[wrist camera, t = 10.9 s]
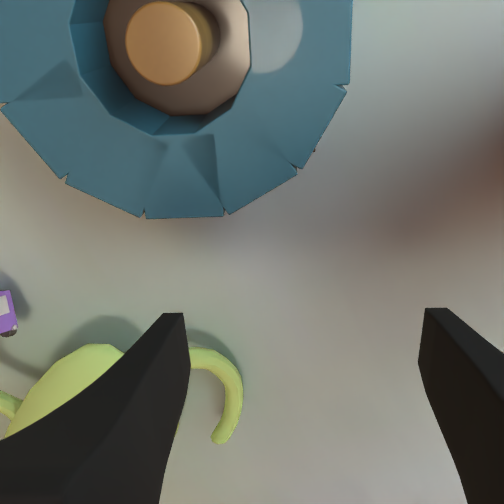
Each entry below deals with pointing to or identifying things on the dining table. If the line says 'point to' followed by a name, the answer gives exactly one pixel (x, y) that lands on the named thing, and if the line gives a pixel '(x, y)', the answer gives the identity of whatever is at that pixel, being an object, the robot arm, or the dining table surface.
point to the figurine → (91, 368)
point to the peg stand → (179, 51)
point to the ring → (172, 127)
